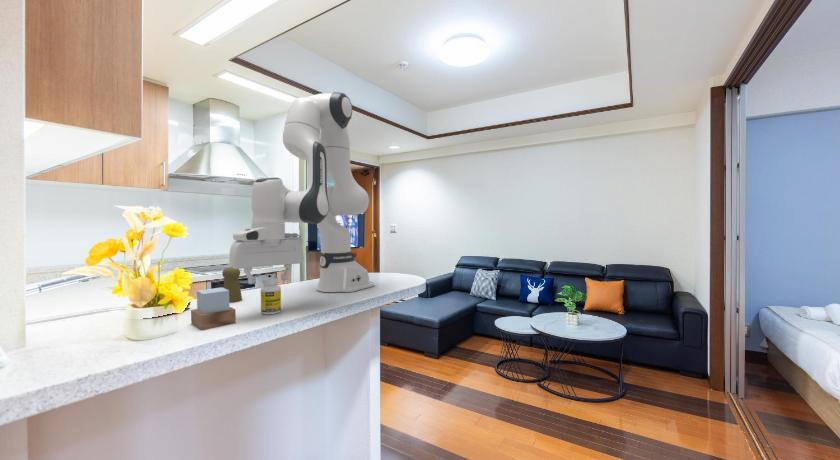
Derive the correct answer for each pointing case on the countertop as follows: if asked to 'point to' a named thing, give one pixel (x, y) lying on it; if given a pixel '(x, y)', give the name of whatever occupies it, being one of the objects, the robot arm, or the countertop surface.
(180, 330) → the countertop surface
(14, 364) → the countertop surface
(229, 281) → the cork
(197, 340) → the countertop surface
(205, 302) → the blue block
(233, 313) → the base block
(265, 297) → the supplement bottle
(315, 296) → the countertop surface
